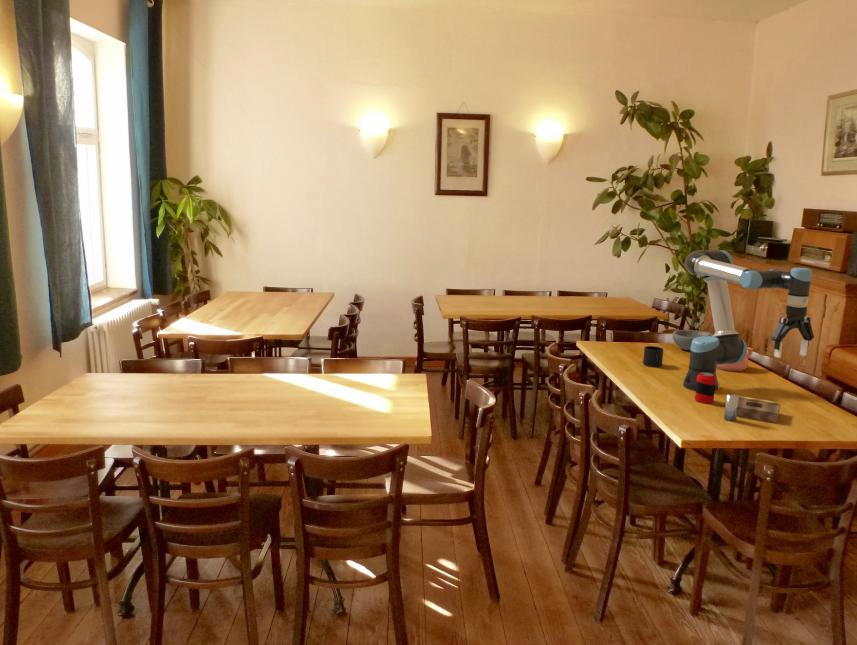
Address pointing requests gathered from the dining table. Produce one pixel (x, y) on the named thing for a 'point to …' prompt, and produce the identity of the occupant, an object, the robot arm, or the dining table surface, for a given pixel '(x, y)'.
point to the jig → (758, 409)
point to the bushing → (731, 407)
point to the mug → (653, 356)
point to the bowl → (687, 337)
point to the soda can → (705, 388)
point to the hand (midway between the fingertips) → (790, 356)
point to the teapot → (737, 366)
